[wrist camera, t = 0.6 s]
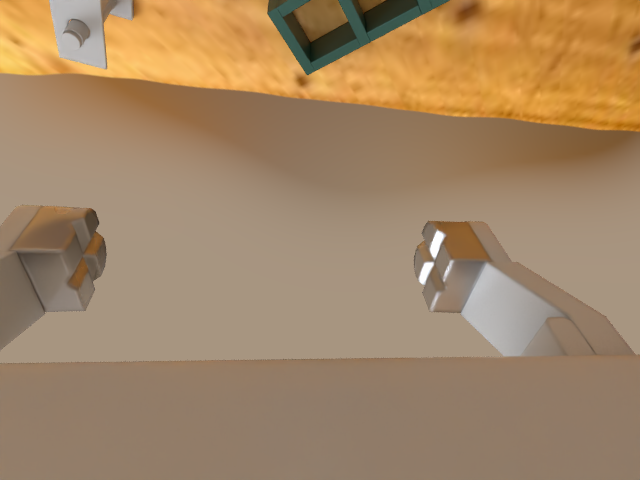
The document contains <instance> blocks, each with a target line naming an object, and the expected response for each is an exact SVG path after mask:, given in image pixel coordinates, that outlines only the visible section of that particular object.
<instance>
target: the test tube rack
mask: <svg viewBox="0 0 640 480" xmlns="http://www.w3.org/2000/svg"><path fill="white" fill-rule="evenodd" d="M49 2H50V8H51V13H52V19H53V24H54V30H55V35H56V40H57V46H58V51H59V56H60V58H64V59H68V60H72V61H76V62H80V63H83V64H87V65H91V66H95V67H99V68H103V69H107V58H106V46H105V35H104V22H105V20H106V18H107V17H108V15H109V14H112V15H115V16H118V17H122V18H125V19H129V20H133V18H134V7H133V0H49ZM70 20H71V21H70ZM69 21H70V22H69Z"/></svg>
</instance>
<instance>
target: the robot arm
mask: <svg viewBox="0 0 640 480" xmlns="http://www.w3.org/2000/svg"><path fill="white" fill-rule="evenodd" d="M98 225H99V221H98V218H97V215H96V212H95V211H94V210H93V209H91V208H74V207H57V206H56V207H55V206H34V205H21V206H18V207H16V208H15V209H14V210H13V211H12V213H11V214H10V215H9V216H8V217H7V219H6V220H5V221H4V222H3V223H2V225H1V226H0V350H1V349H3V348H4V347H5V346H6V345H7V344H9V343H10V342H11V341H12V340H14V339H15V338H16V337H17V336H18V335H20V334H21V333H22V332H23V331H25V330H26V329H27V328H28V327H29V326H31V325H32V324H33V323H34V322H35V321H37V320H38V319H39V318H41V317H42V316H43V315H44V314H45V312H55V311H56V312H58V311H85V310H86V308H87V306H88V304H89V302H90V299H91V297H92V295H93V293H94V291H95V288H94V285H93V281H94V280H95V279H97V278H98V277H100V276H101V275H102V272H103V270H104V267H105V262H106V246H105V241H104V238H103V237H102V236H101V235H99V234H98V233H97V232H96V229H97V227H98ZM422 235H423V237H424V239H425V240H424V241H423V242H422V243H421V244H420V245H418V246H417V249H416V253H415V256H414V270H415V274H416V277H417V279H418V281H419V282H421V283H422V284H423V285H424V286H425V287H424V290H423V292H422V293H423V296H424V298H425V301H426V303H427V306H428V309H429V311H430V312H449V313H461V315H462V316H463V317H464V318H465V319H466V320H467V321H468V322H469V323H470V324H471V325H472V326H473V327H474V328H475V329H476V330H478V332H480V333H481V334H482V335H483V336H484V337H485V338H486V339H487V340H488V341H489V342H490V343H491V344H492V345H493V346H494V347H495V348H496V349H497V350H498V351H499V352H500V353H501V354H502V355H503V356H502V357H501V356H500V357H434V358H359V359H356V358H355V359H288V360H287V359H283V360H211V361H143V362H142V361H139V362H71V363H69V362H68V363H67V362H66V363H0V480H640V355H636V354H635V353H634V352H633V351H632V349H631V348H630V347H629V346H628V344H627V343H626V342H625V340H624V339H623V338H622V337H621V336H620V334H619V333H618V332H617V331H616V329H615V328H614V327H613V325H612V324H611V323H610V321H609V320H608V319H607V318H606V316H604V315H602V314H601V313H599V312H597V311H596V310H594V309H593V308H591V307H589V306H588V305H586V304H585V303H583V302H581V301H580V300H578V299H576V298H575V297H573V296H571V295H570V294H568V293H567V292H565V291H564V290H562V289H560V288H559V287H557V286H555V285H554V284H552V283H550V282H549V281H547V280H546V279H544V278H542V277H541V276H539V275H538V274H536V273H534V272H533V271H531V270H529V269H528V268H526V267H525V266H523V265H521V264H520V263H518V262H512V261H511V260H510V258H509V257H508V255H507V253H506V252H505V250H504V249H503V247H502V246H501V244H500V243H499V241H498V240H497V238H496V237H495V235H494V234H493V233H492V231H491V229H490V228H489V226H488V225H487V224H486V223H484V222H444V221H442V222H441V221H428V222H427V223H426V225H425V226H424V229H423V232H422Z"/></svg>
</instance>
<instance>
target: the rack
mask: <svg viewBox="0 0 640 480" xmlns="http://www.w3.org/2000/svg"><path fill="white" fill-rule="evenodd" d="M309 1H310V0H269V3H268V12H267V14H268V15H269V17H270V18H271V20H272V21H273V23H274V25H275V26H276V28H277V29H278V31H279V32H280V34H281V35H282V37H283V39H284V40H285V42H286V43H287V45H288V46H289V48H290V49H291V51H292V53H293V54H294V56H295V57H296V59H297V60H298V62H299V63H300V65H301V67H302V68H303V70H304V71H305V73H306V74H307V75H309V74H311V73H313V72H314V71H316V70H318V69H320V68H322V67H324V66H326V65H328V64H330V63H332V62H334V61H335V60H337V59H339V58H341V57H343V56H345V55H347V54H349V53H351V52H353V51H354V50H356V49H358V48H360V47H362V46H364V45H366V44H368V43H370V42H371V41H373V40H375V39H377V38H379V37H381V36H383V35H385V34H387V33H388V32H390V31H392V30H394V29H396V28H398V27H400V26H402V25H404V24H406V23H407V22H409V21H411V20H413V19H415V18H417V17H419V16H421V15H423V14H425V13H427V12H429V11H431V10H432V9H434V8H436V7H438V6H440V5H442V4H444V3H446V2H448V1H450V0H387V1H385V2H384V3H382V4H380V5H378V6H376V7H375V8H373V9H371V10H369V11H368V12H366V13H364V14H363V12H362V9H361V7H360V5H359V3H358V1H357V0H338V1H339V3H340V5H341V7H342V9H343V11H344V13H345V15H346V17H347V19H348V21H349V22H347V23H346V24H344V25H342V26H340V27H339V28H337V29H335V30H333V31H331V32H330V33H328V34H326V35H324V36H322V37H321V38H319V39H317V40H315V41H313V42H312V43H310V41H309V40H308V38H307V36H306V35H305V33H304V31H303V30H302V28H301V26H300V24H299V23H298V21H297V19H296V18H295V16H294V14H293V13H292V11H294V10H295V9H297V8H299V7H300V6H302V5H304V4H305V3H307V2H309Z"/></svg>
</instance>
